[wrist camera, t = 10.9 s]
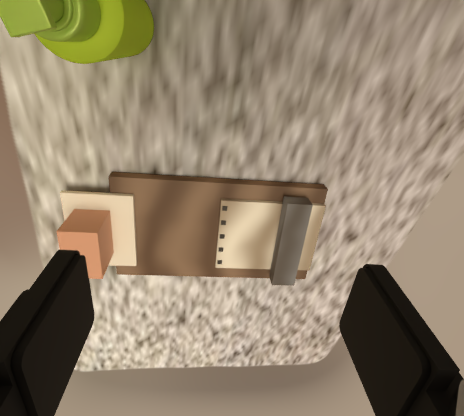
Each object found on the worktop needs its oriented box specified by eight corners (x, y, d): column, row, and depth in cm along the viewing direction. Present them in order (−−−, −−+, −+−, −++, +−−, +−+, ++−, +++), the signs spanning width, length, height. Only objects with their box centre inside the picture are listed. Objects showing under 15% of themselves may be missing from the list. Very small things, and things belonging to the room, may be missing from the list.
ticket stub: (133, 194, 37) (123, 217, 32) (137, 263, 42) (128, 292, 37) (62, 190, 36) (39, 213, 31) (73, 261, 41) (55, 291, 36)
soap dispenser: (138, -35, 29) (34, -157, 11) (161, 49, 32) (108, 56, 14) (76, -20, 29) (-125, -119, 11) (105, 62, 32) (-17, 84, 14)
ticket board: (323, 184, 40) (335, 198, 37) (302, 272, 47) (310, 291, 43) (112, 171, 38) (102, 185, 34) (119, 267, 44) (112, 287, 40)
